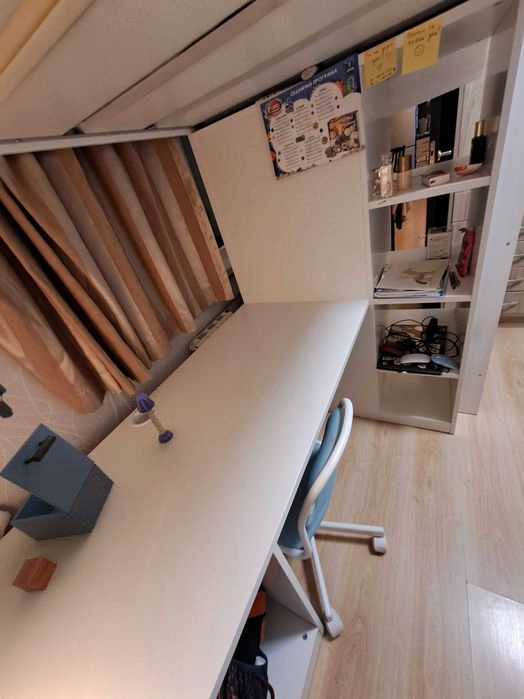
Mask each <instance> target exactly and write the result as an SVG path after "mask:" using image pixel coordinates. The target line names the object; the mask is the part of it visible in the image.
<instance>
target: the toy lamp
mask: <svg viewBox="0 0 524 699" xmlns="http://www.w3.org/2000/svg"><path fill="white" fill-rule="evenodd" d="M134 401H135V405H136V408H137V411H138V413H139V414H146V415H147V416H148V417H149V419H150V421H151V423H152V424H153V425H154V427H155V428H156V430H157V432H158V433H159V434H158V442H160V443H161V444H162V443H167V442H168V441H170V440H171V439H172V437H173V432H172V431H171V430H170V429H165V428H164V426H163V425H162V423H161V421H160V420H159V418H158V417H157V414H155V412H154V410H153V409H154V407H155V404H156V402H155V401H154V400H153V399H152V398H151V397H150V396H148V395H147V394H145V393H140V394H139V395H137V396H136V397H135V400H134Z"/></svg>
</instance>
